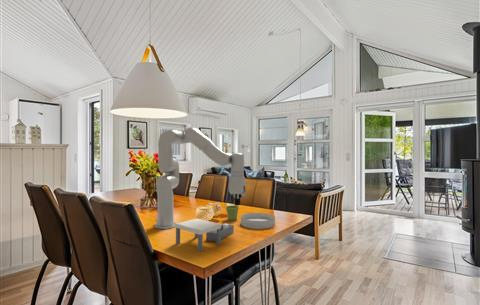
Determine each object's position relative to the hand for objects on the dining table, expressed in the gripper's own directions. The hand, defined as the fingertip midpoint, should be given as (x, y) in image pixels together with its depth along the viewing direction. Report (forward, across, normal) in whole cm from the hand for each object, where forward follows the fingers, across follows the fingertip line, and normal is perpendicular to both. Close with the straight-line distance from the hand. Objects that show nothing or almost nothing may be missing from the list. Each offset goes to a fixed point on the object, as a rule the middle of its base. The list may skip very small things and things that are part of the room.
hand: (237, 205), depth 158 cm
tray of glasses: (+15, 0, -14) cm, 21 cm away
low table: (+15, 0, -31) cm, 34 cm away
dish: (+15, +1, +19) cm, 25 cm away
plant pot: (+15, -19, +17) cm, 30 cm away
